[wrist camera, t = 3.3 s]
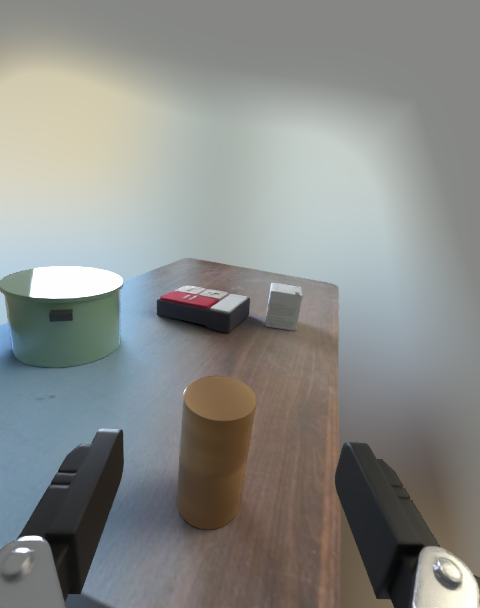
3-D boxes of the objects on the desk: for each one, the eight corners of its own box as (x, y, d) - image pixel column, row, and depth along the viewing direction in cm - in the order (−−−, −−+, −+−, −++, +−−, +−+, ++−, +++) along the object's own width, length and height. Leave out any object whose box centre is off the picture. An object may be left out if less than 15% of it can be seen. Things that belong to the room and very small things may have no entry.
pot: (-7, 380, 37) (-21, 302, 34) (22, 322, 51) (14, 264, 48) (127, 366, 43) (127, 299, 40) (120, 318, 57) (119, 265, 54)
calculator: (185, 283, 69) (251, 294, 64) (185, 302, 70) (249, 314, 65) (155, 296, 59) (230, 310, 54) (156, 317, 60) (229, 333, 56)
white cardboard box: (265, 315, 66) (271, 281, 64) (295, 320, 66) (301, 286, 63) (264, 327, 61) (270, 290, 58) (296, 331, 60) (303, 295, 58)
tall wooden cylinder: (185, 539, 23) (194, 427, 19) (170, 479, 27) (176, 380, 24) (250, 517, 25) (269, 413, 22) (227, 465, 29) (239, 371, 26)
